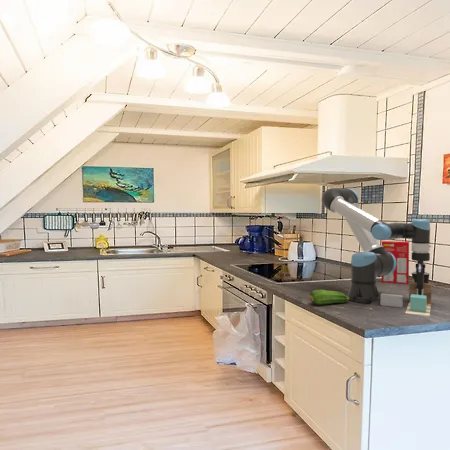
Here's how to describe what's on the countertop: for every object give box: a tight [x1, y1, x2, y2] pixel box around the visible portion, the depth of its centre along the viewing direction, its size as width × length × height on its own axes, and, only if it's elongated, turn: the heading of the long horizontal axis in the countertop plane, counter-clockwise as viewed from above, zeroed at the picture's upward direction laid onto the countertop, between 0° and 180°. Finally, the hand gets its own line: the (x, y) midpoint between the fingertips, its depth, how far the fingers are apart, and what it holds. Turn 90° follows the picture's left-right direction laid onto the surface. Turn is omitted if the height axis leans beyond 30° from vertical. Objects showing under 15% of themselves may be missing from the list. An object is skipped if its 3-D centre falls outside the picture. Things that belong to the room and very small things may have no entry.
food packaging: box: [381, 240, 410, 285], centre depth 219 cm, size 15×5×25 cm, turn 65°
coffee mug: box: [411, 271, 430, 283], centre depth 196 cm, size 12×9×10 cm
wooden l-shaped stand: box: [405, 281, 432, 317], centre depth 161 cm, size 24×9×10 cm, turn 149°
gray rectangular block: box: [380, 292, 404, 309], centre depth 158 cm, size 20×9×6 cm, turn 149°
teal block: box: [410, 294, 427, 313], centre depth 158 cm, size 6×6×6 cm
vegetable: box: [309, 289, 349, 306], centre depth 174 cm, size 7×7×20 cm
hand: (420, 301), depth 170 cm, fingers closed on wooden l-shaped stand, 3 cm apart
